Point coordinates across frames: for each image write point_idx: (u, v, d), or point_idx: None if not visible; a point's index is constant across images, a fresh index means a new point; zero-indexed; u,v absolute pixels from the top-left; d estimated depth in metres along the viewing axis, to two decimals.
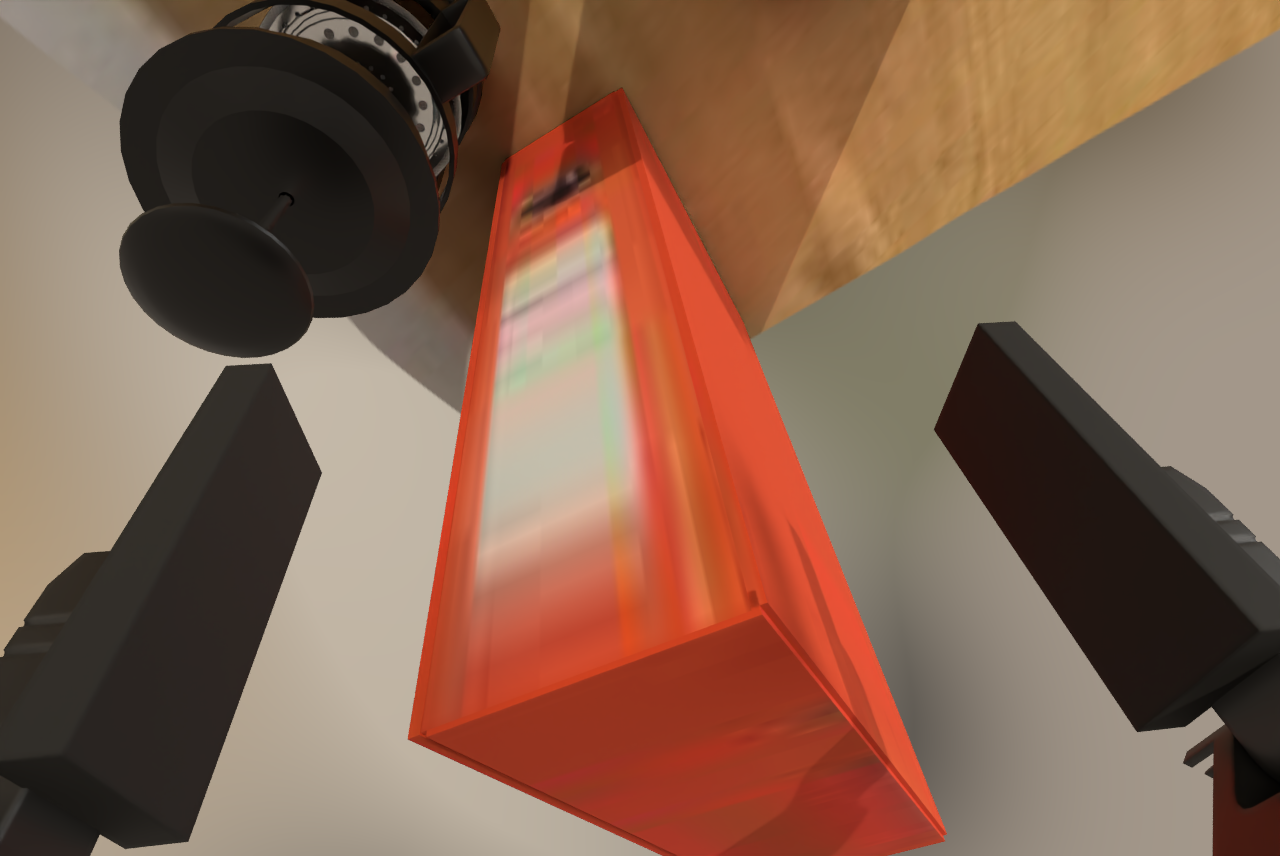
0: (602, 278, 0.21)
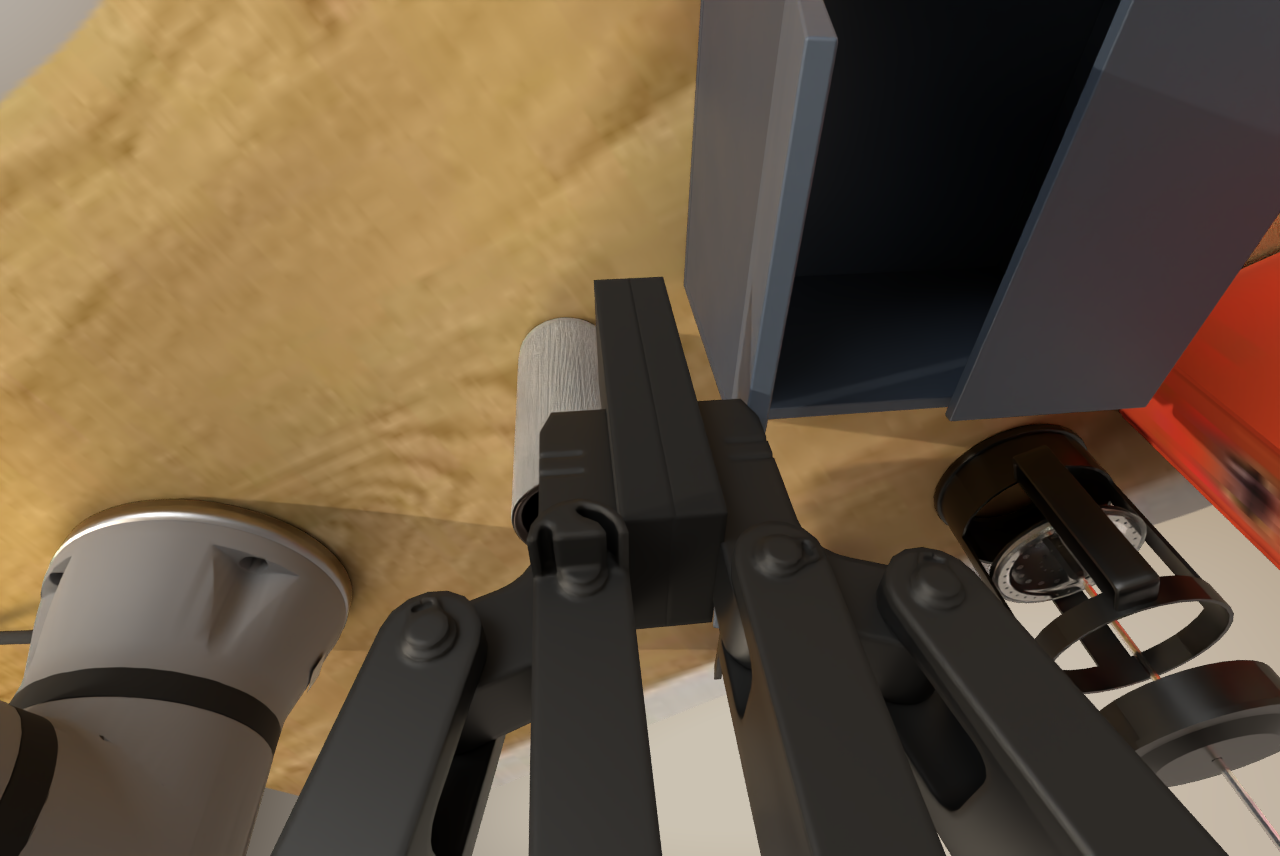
0: None
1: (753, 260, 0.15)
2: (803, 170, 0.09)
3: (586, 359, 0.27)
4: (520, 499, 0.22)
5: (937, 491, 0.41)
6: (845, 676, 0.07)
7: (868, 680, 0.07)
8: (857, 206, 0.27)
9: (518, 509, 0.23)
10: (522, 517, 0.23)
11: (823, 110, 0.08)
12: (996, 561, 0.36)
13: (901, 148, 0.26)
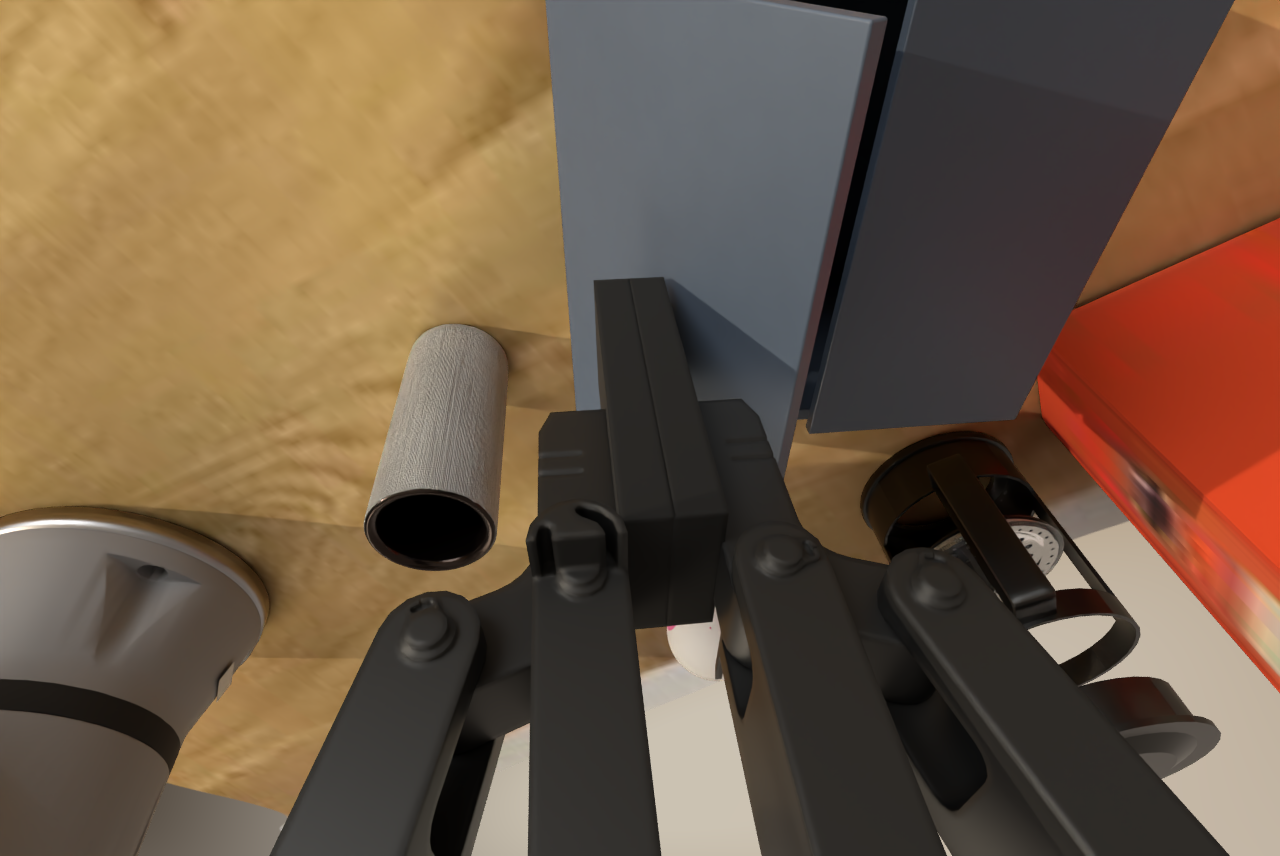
0: None
1: (614, 265, 0.15)
2: (855, 141, 0.09)
3: (464, 367, 0.27)
4: (368, 513, 0.22)
5: (862, 499, 0.40)
6: (846, 676, 0.07)
7: (869, 680, 0.07)
8: None
9: (369, 523, 0.22)
10: (376, 530, 0.23)
11: (872, 83, 0.09)
12: None
13: None
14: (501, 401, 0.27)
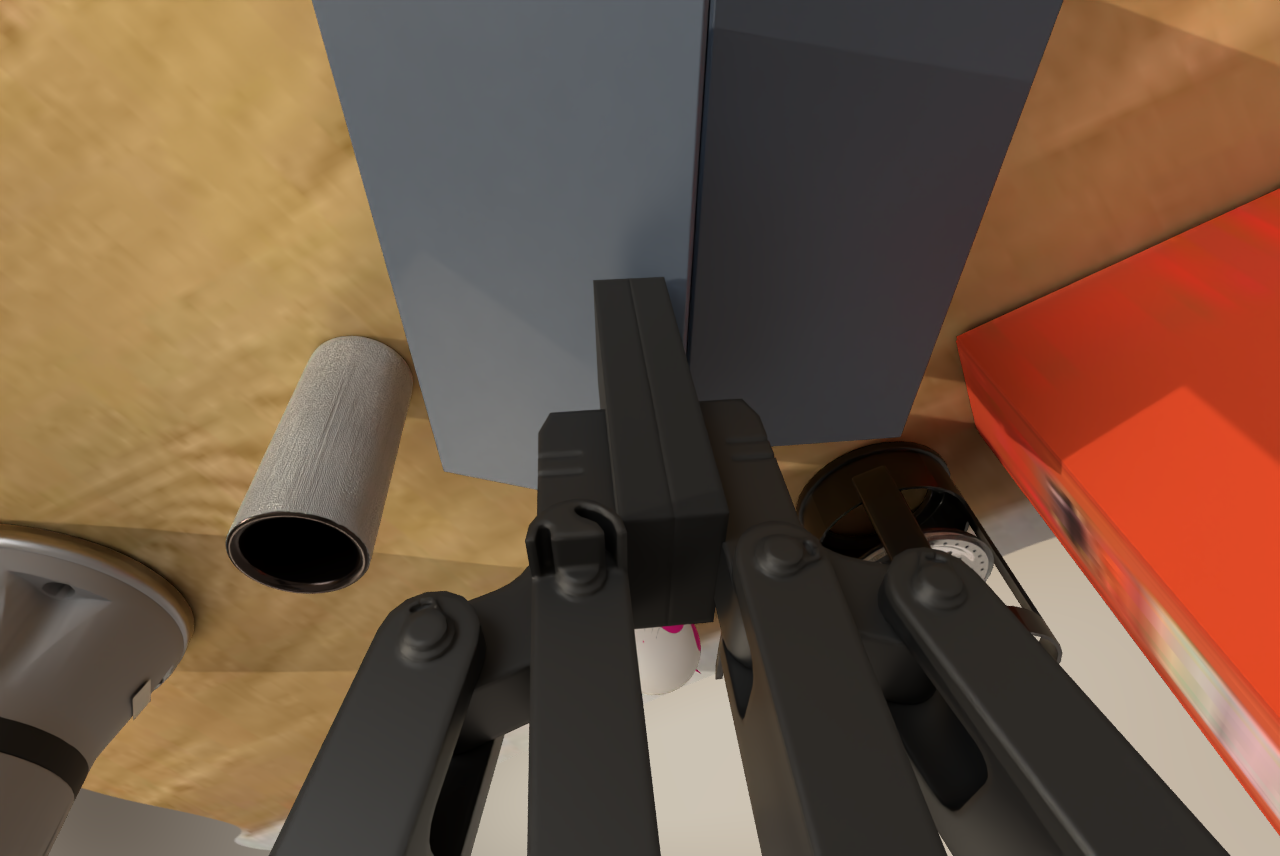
0: (1252, 724, 0.20)
1: (461, 263, 0.15)
2: (702, 87, 0.11)
3: (353, 381, 0.26)
4: (228, 536, 0.21)
5: (797, 510, 0.39)
6: (846, 676, 0.07)
7: (869, 680, 0.07)
8: None
9: (230, 546, 0.21)
10: (241, 553, 0.22)
11: (705, 37, 0.11)
12: None
13: None
14: (394, 416, 0.27)
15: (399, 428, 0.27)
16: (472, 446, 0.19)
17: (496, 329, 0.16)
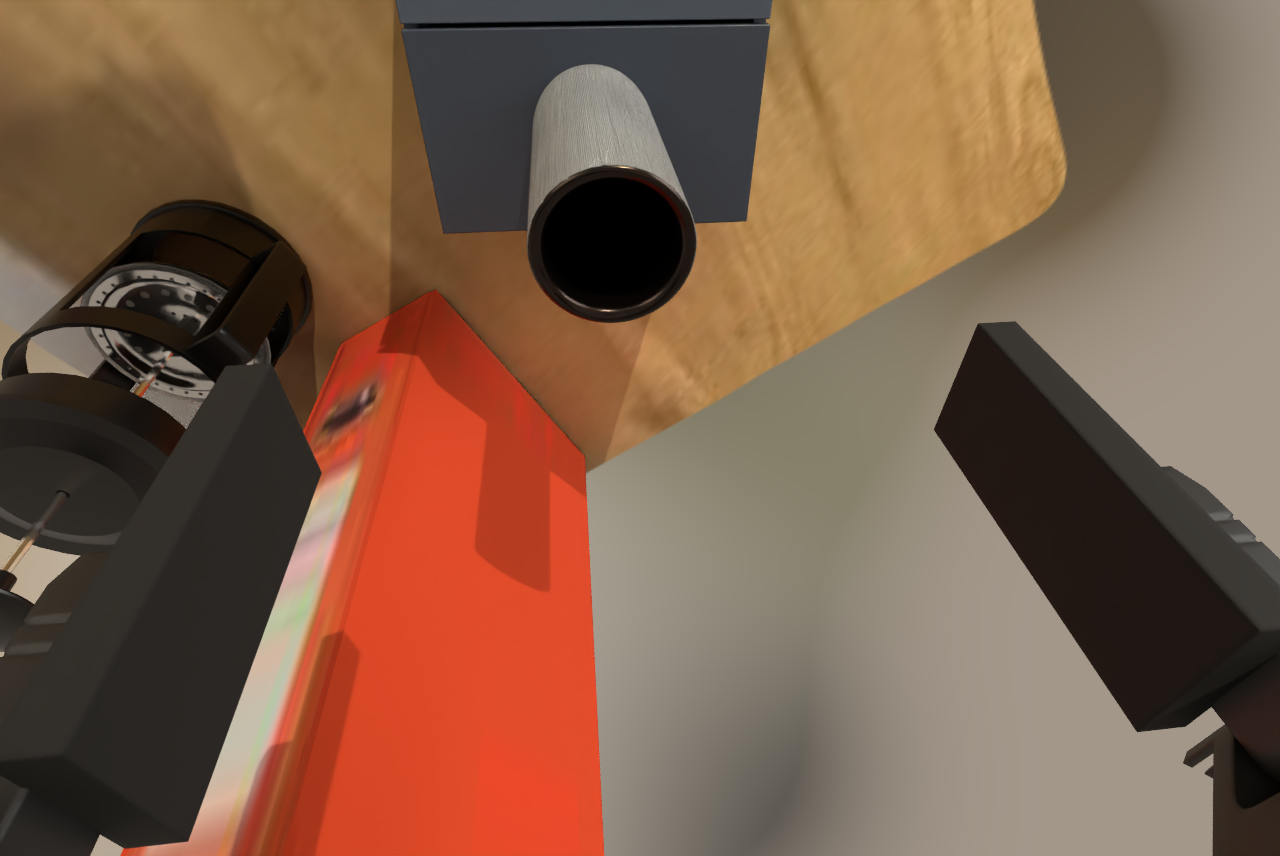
0: (330, 540, 0.27)
1: None
2: None
3: None
4: (662, 181, 0.16)
5: (180, 201, 0.34)
6: None
7: None
8: None
9: (645, 178, 0.16)
10: (619, 179, 0.16)
11: None
12: (141, 264, 0.31)
13: None
14: None
15: None
16: None
17: None
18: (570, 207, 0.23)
